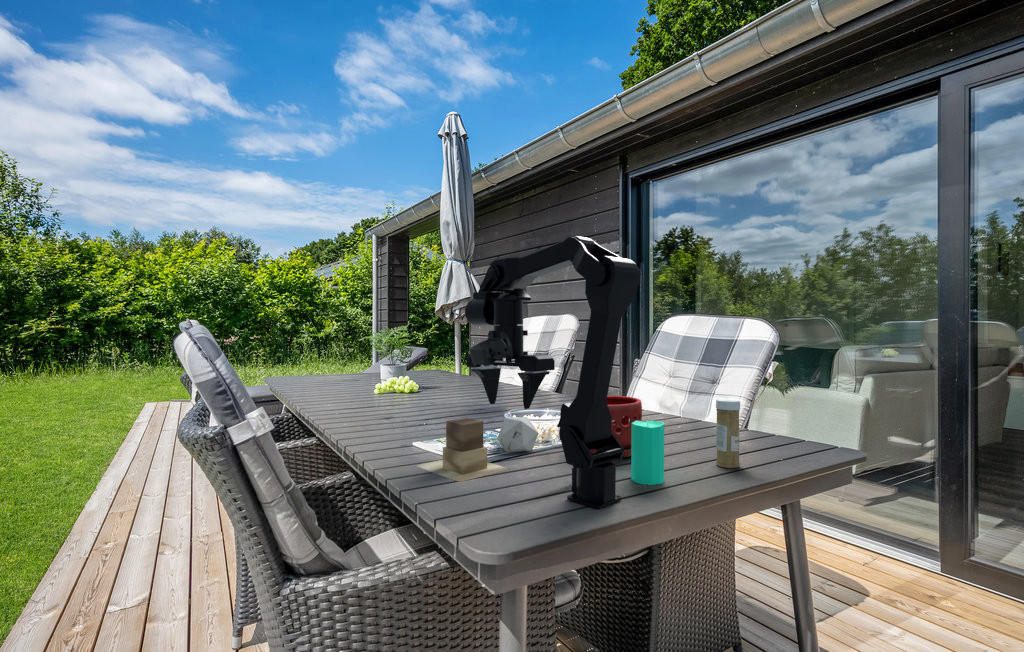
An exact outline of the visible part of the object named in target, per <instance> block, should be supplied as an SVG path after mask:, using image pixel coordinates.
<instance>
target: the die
mask: <svg viewBox="0 0 1024 652" xmlns="http://www.w3.org/2000/svg"><path fill="white" fill-rule="evenodd" d="M539 434H540V432H539V431H538V430H537V429H536V427H535V426H534V425H533V423H532V422H531V420H530V419H529V418H528V416H519V417H516V416H515V417H504V420H503V422H502V425H501V427H500V430H499V432H498V435H497V441H498V442H499V443H498V444H500V445H501V447H502V449H503V451H505V452H509V453H510V452H511V453H521V452H530V451H533V450H534V446H535V444H536V441H537V440H538V436H539Z"/></svg>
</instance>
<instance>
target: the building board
mask: <svg viewBox="0 0 1024 652" xmlns="http://www.w3.org/2000/svg"><path fill="white" fill-rule="evenodd" d="M415 467H417V468H418V469H422V470H425V471H427V472H430V473H433V474H435V475H439V476H441V477H444V478H447V479H450V480H453V481H456V482H458V483H462V482H466V481H469V480H474V479H477V478H481V477H484V476H487V475H488V476H489V475H491V474H492V475H493V474H497V473H499V472H503V471H507V470H510V468H509V467H505V466H501V465H499V464H496V463H492V462H489V461H487V469H483V470H479V471H475V472H471V473H468V474H464V475H462V474H459V473H456V472H453V471H450V470H447V469H444V468H443V458H442V459H438V460H434V461H430V462H425V463H421V464H420V463H419V464H416V465H415Z"/></svg>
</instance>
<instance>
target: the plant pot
mask: <svg viewBox="0 0 1024 652" xmlns="http://www.w3.org/2000/svg"><path fill="white" fill-rule="evenodd" d="M607 405H608V407H609V410H610V413H611V416H612V425H611V431H612V432H613V433H614V435H615V436H616V438H617V439H618V441H619V442H620V443H621V445H622V446H623V448H624V454H623V457H622V458H628V457H631V429H632V423H633V422H635V421H643V420H642V418H643V406H642V405H643V404H642V400H641V399H640V398H637V397H633V396H623V395H607ZM590 452H591V453H595V452H597V451H596V449H595V450H591V451H590Z"/></svg>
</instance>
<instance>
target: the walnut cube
mask: <svg viewBox="0 0 1024 652" xmlns="http://www.w3.org/2000/svg"><path fill="white" fill-rule="evenodd" d="M445 425H446V426H445V437H446V439H445V444H446V445H445V447H447V448H451V449H454V450H457V451H461V452H465V451H470V450H474V449H479V448H483V446H484V420H479V419H473V418H470V417H464V418H457V419H451V420H450V419H449V420H446V421H445Z"/></svg>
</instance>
